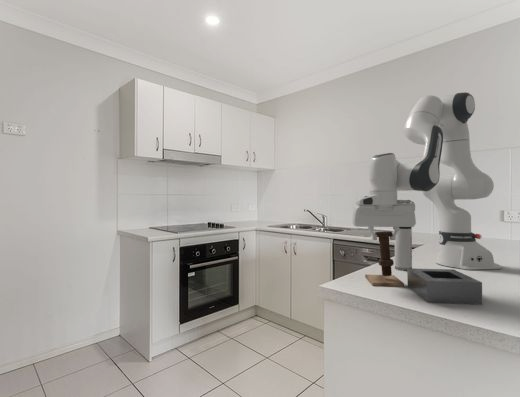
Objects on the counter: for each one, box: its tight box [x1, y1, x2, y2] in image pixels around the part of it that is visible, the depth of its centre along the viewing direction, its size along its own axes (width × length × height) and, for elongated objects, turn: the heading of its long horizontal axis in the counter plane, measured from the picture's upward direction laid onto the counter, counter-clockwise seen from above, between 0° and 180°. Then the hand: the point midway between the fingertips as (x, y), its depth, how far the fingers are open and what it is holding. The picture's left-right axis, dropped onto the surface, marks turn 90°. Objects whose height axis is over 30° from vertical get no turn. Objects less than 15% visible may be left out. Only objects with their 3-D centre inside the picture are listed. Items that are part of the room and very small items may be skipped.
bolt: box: [374, 230, 395, 276], centre depth 98 cm, size 6×5×15 cm
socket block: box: [406, 267, 483, 305], centre depth 85 cm, size 14×14×6 cm
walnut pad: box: [364, 274, 405, 288], centre depth 98 cm, size 10×10×1 cm
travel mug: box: [394, 227, 413, 272], centre depth 115 cm, size 6×7×20 cm
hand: (383, 239), depth 98 cm, fingers closed on bolt, 5 cm apart
